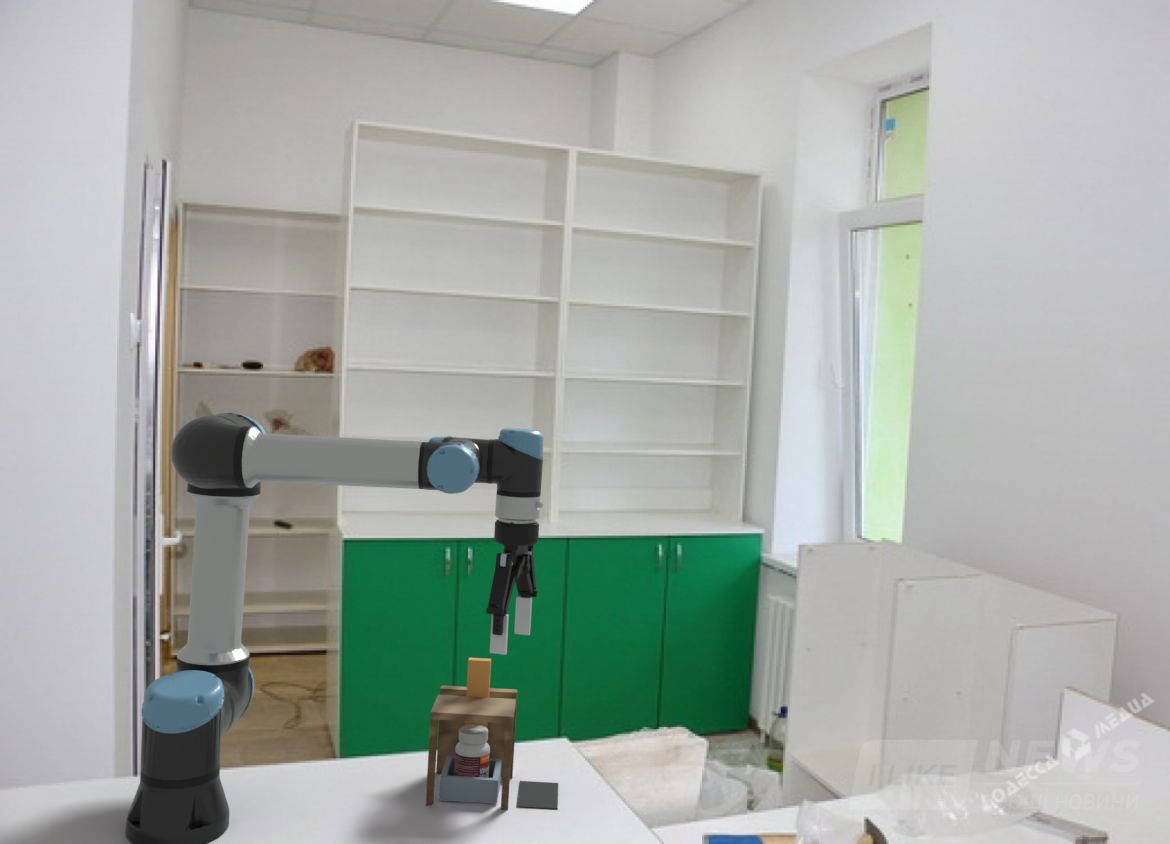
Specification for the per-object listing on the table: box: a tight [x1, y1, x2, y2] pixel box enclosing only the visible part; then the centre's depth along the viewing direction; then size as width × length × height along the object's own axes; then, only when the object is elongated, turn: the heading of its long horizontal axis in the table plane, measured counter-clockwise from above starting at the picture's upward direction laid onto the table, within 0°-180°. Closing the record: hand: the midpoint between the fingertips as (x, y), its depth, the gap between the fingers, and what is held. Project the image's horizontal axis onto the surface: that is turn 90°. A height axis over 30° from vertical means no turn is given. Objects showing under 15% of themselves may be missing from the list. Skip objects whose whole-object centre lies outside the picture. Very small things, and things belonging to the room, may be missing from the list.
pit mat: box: [516, 780, 559, 810], centre depth 183 cm, size 7×11×1 cm, turn 1°
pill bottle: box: [454, 725, 490, 778], centre depth 182 cm, size 6×6×11 cm
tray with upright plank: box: [438, 657, 502, 804], centre depth 182 cm, size 10×10×22 cm
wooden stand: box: [425, 685, 519, 811], centre depth 183 cm, size 14×15×16 cm
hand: (510, 643), depth 176 cm, fingers open, 13 cm apart
